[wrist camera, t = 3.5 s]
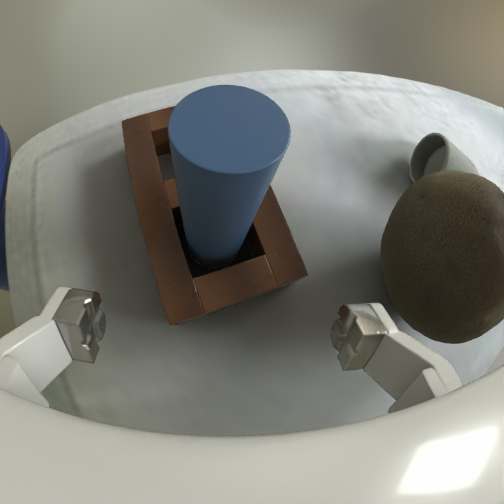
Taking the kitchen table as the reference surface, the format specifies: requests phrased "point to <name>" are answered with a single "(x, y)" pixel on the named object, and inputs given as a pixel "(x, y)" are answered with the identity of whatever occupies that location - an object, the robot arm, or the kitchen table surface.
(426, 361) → the robot arm
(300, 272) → the peg block
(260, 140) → the peg
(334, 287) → the kitchen table surface
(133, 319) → the kitchen table surface
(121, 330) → the kitchen table surface
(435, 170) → the ceramic mug
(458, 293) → the cantaloupe
